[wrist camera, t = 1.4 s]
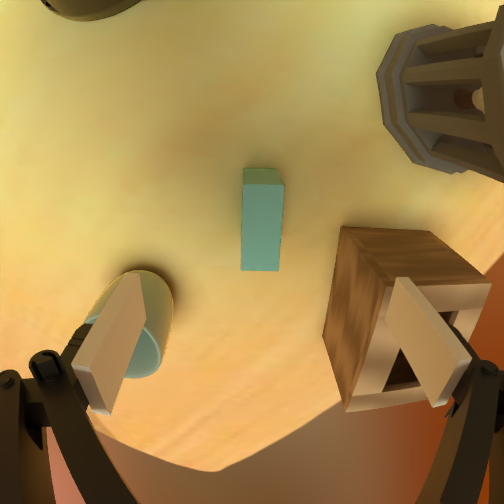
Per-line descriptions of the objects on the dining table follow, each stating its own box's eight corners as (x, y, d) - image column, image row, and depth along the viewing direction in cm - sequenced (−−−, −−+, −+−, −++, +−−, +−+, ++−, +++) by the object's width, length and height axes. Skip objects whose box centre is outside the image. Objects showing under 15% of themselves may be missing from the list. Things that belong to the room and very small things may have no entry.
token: (243, 167, 29) (242, 183, 23) (275, 168, 29) (284, 185, 23) (241, 237, 32) (240, 270, 26) (271, 238, 32) (278, 271, 26)
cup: (170, 254, 33) (146, 309, 24) (187, 316, 36) (172, 379, 27) (105, 263, 33) (66, 315, 24) (126, 320, 36) (99, 379, 27)
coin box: (340, 226, 32) (386, 286, 21) (430, 231, 32) (493, 282, 21) (322, 335, 38) (345, 412, 27) (402, 331, 38) (440, 396, 27)
